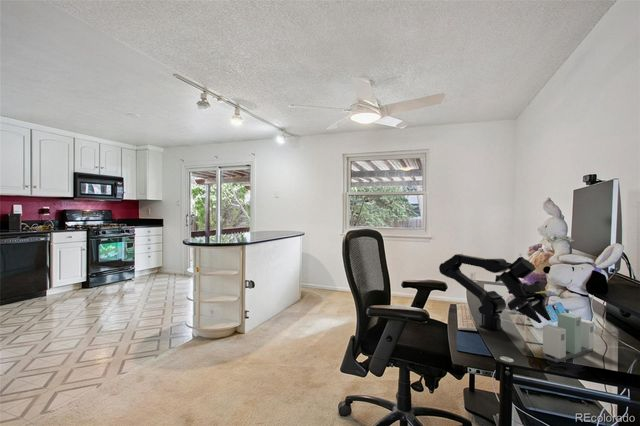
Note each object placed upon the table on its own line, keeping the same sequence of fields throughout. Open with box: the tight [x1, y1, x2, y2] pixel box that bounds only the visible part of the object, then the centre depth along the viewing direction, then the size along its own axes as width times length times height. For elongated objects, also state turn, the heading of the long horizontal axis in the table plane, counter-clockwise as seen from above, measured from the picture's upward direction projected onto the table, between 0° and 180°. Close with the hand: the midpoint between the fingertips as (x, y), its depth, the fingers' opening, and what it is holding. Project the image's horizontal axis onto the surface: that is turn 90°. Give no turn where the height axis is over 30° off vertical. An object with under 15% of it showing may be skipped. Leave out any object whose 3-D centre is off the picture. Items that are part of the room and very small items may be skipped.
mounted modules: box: [542, 318, 595, 359], centre depth 105 cm, size 5×22×9 cm, turn 116°
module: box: [557, 312, 582, 354], centre depth 105 cm, size 5×4×12 cm
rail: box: [543, 347, 594, 363], centre depth 105 cm, size 4×23×1 cm, turn 115°
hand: (545, 321), depth 111 cm, fingers open, 6 cm apart
